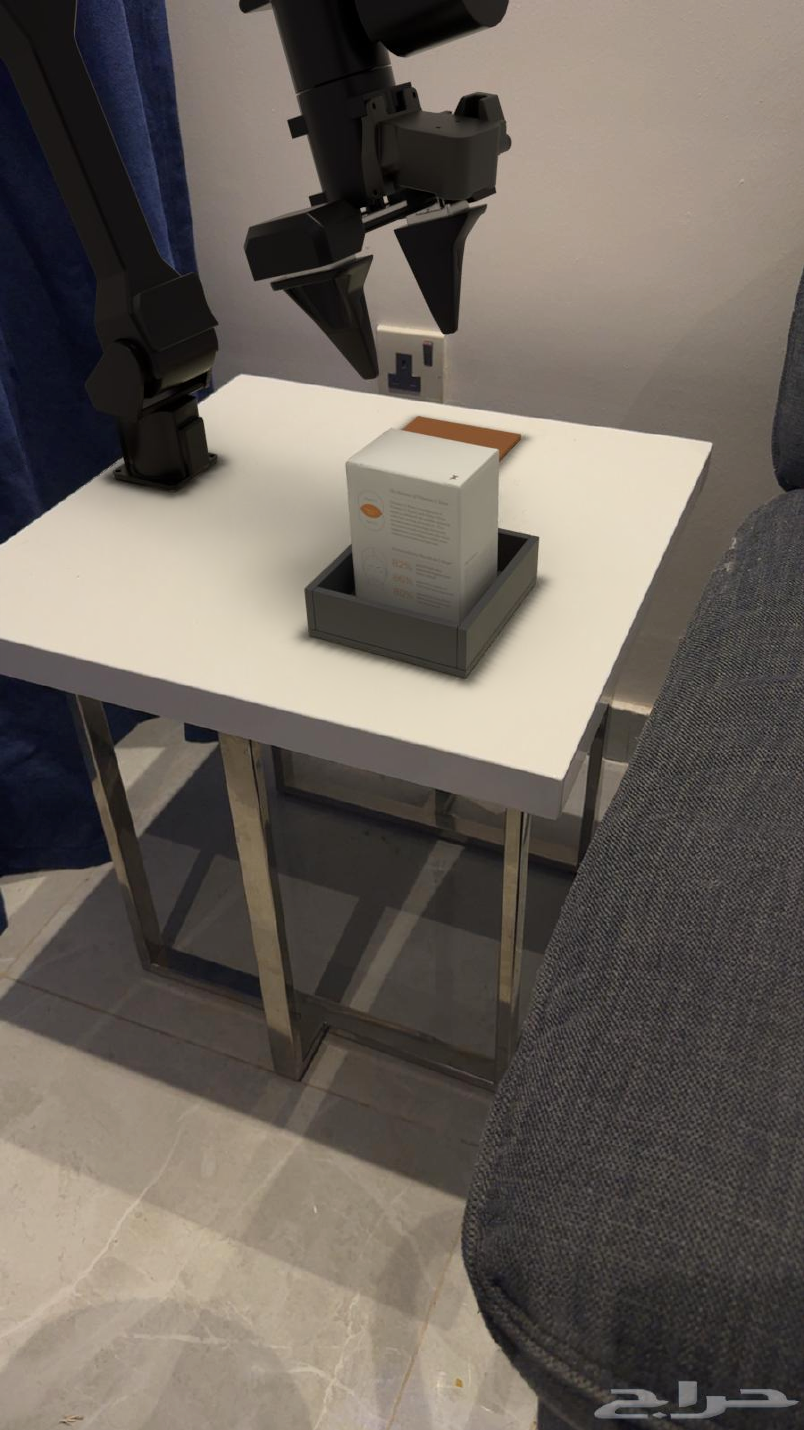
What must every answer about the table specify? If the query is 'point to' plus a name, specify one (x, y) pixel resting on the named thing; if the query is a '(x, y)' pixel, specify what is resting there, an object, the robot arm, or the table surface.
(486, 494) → the small box
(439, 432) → the mat
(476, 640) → the bin
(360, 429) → the table surface
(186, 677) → the table surface
